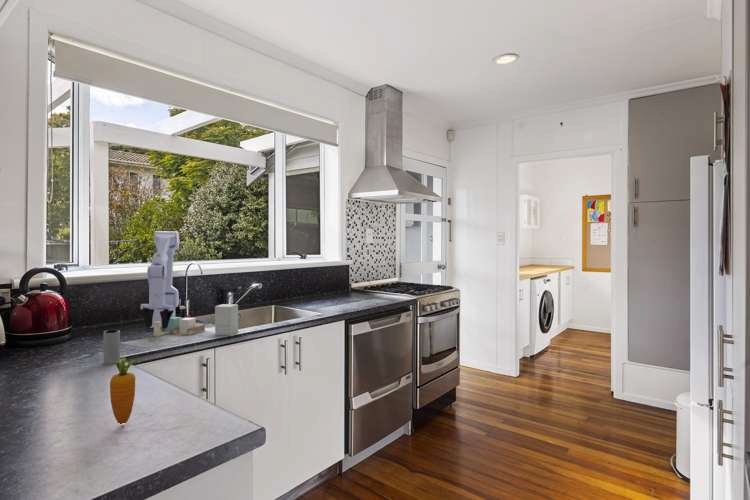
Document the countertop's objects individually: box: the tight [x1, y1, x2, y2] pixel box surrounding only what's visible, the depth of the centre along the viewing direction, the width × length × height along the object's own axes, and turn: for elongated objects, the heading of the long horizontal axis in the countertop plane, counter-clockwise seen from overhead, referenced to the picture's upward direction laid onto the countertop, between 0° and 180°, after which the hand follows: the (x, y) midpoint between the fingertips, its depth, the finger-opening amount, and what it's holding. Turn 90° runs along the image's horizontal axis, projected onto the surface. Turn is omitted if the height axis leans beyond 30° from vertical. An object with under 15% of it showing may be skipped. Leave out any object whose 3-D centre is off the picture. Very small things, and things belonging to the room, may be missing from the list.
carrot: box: [109, 356, 136, 424], centre depth 90 cm, size 5×5×15 cm
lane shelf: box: [160, 323, 206, 336], centre depth 181 cm, size 15×10×3 cm, turn 76°
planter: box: [102, 329, 121, 365], centre depth 137 cm, size 4×4×10 cm
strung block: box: [153, 316, 183, 338], centre depth 177 cm, size 4×13×6 cm, turn 166°
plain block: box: [179, 317, 197, 334], centre depth 179 cm, size 4×4×6 cm
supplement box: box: [214, 303, 239, 337], centre depth 180 cm, size 7×7×13 cm
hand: (157, 327), depth 172 cm, fingers open, 7 cm apart
